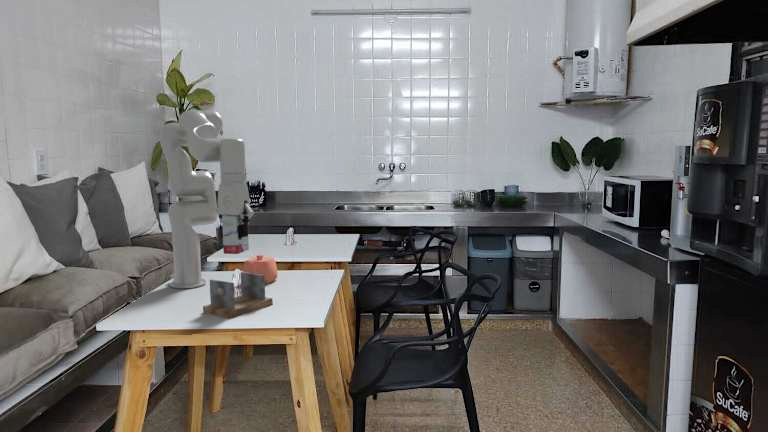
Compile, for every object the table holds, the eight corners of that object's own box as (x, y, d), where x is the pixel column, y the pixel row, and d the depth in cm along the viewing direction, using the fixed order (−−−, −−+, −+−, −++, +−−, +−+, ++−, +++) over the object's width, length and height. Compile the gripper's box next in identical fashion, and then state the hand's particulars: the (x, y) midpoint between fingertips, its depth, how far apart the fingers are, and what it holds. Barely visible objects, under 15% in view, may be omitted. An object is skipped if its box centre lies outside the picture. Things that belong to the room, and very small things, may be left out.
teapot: (282, 277, 226) (281, 251, 225) (264, 288, 209) (263, 260, 207) (255, 276, 228) (254, 251, 227) (235, 287, 211) (233, 259, 210)
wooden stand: (203, 312, 178) (201, 280, 177) (246, 299, 193) (245, 270, 192) (230, 318, 171) (228, 285, 170) (272, 304, 186) (271, 274, 185)
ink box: (237, 254, 176) (235, 216, 174) (222, 254, 177) (221, 216, 175) (249, 249, 184) (248, 213, 183) (235, 249, 185) (234, 212, 184)
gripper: (204, 178, 179) (207, 235, 181) (244, 179, 170) (246, 239, 172) (223, 177, 185) (225, 232, 187) (262, 178, 176) (264, 236, 178)
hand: (235, 235), depth 180 cm, fingers closed on ink box, 6 cm apart
